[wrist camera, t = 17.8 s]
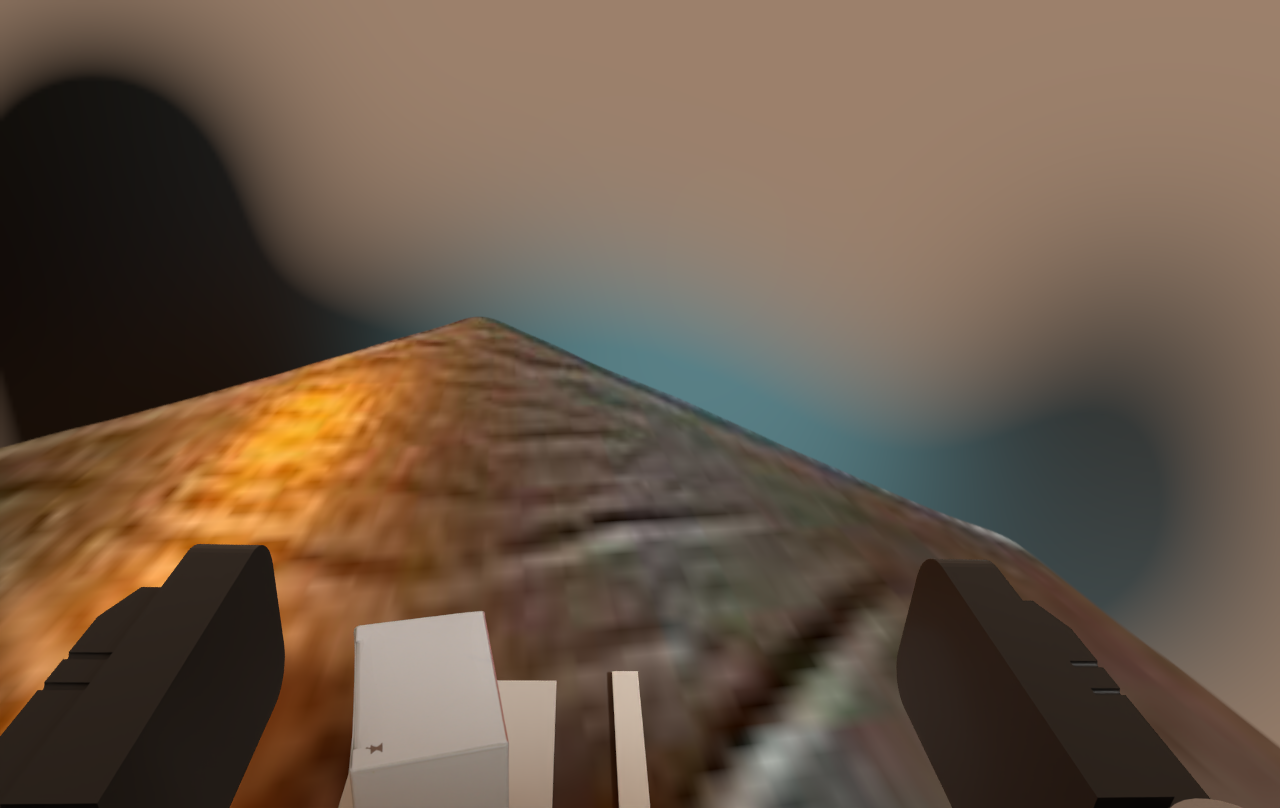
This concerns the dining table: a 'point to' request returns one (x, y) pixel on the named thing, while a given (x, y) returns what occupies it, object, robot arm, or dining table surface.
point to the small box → (427, 716)
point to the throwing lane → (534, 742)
